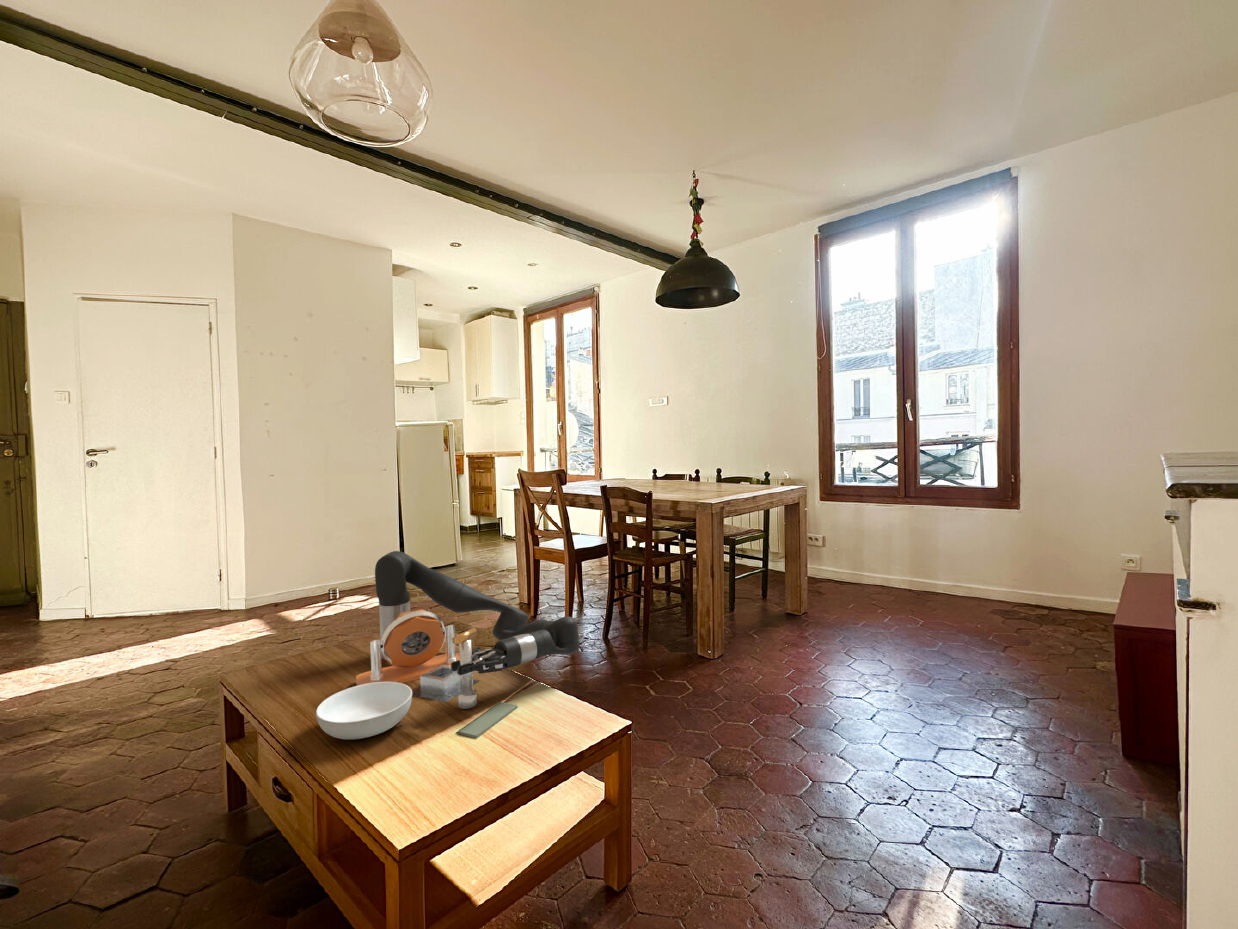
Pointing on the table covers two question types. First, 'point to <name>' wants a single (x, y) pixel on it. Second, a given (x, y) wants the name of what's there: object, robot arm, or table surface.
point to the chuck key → (467, 692)
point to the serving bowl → (364, 710)
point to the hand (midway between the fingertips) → (454, 669)
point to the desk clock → (410, 648)
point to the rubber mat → (487, 720)
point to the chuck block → (439, 684)
